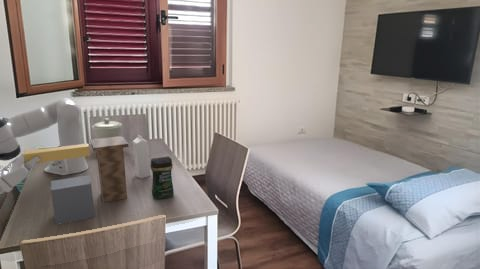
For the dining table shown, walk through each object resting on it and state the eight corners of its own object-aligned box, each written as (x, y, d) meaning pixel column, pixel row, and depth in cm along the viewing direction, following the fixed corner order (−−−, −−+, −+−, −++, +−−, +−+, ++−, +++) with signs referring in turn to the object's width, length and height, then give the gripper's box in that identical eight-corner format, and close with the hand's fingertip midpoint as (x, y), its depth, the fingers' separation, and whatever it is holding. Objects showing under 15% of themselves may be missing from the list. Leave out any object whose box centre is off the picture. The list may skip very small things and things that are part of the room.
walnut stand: (99, 205, 150) (93, 147, 143) (95, 193, 162) (90, 139, 155) (132, 198, 157) (128, 143, 150) (126, 187, 168) (122, 135, 162)
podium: (56, 224, 134) (50, 190, 130) (55, 213, 142) (50, 181, 139) (94, 216, 140) (91, 183, 136) (92, 206, 149) (88, 175, 145)
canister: (99, 146, 234) (95, 115, 229) (126, 145, 236) (124, 115, 231) (90, 154, 217) (87, 121, 211) (120, 153, 219) (117, 121, 213)
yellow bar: (24, 164, 126) (23, 154, 125) (25, 161, 130) (24, 151, 129) (90, 156, 136) (89, 146, 135) (89, 152, 140) (87, 143, 139)
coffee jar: (155, 201, 154) (152, 162, 149) (150, 194, 161) (148, 156, 156) (176, 197, 159) (174, 158, 154) (170, 190, 165) (168, 153, 160)
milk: (139, 178, 180) (136, 137, 174) (135, 175, 184) (131, 135, 178) (150, 175, 183) (147, 135, 177) (146, 172, 188) (143, 133, 182)
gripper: (13, 174, 136) (45, 153, 140) (7, 194, 119) (44, 169, 122) (1, 162, 133) (34, 141, 137) (-7, 181, 116) (32, 156, 120)
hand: (39, 155), depth 130 cm, fingers closed on yellow bar, 4 cm apart
